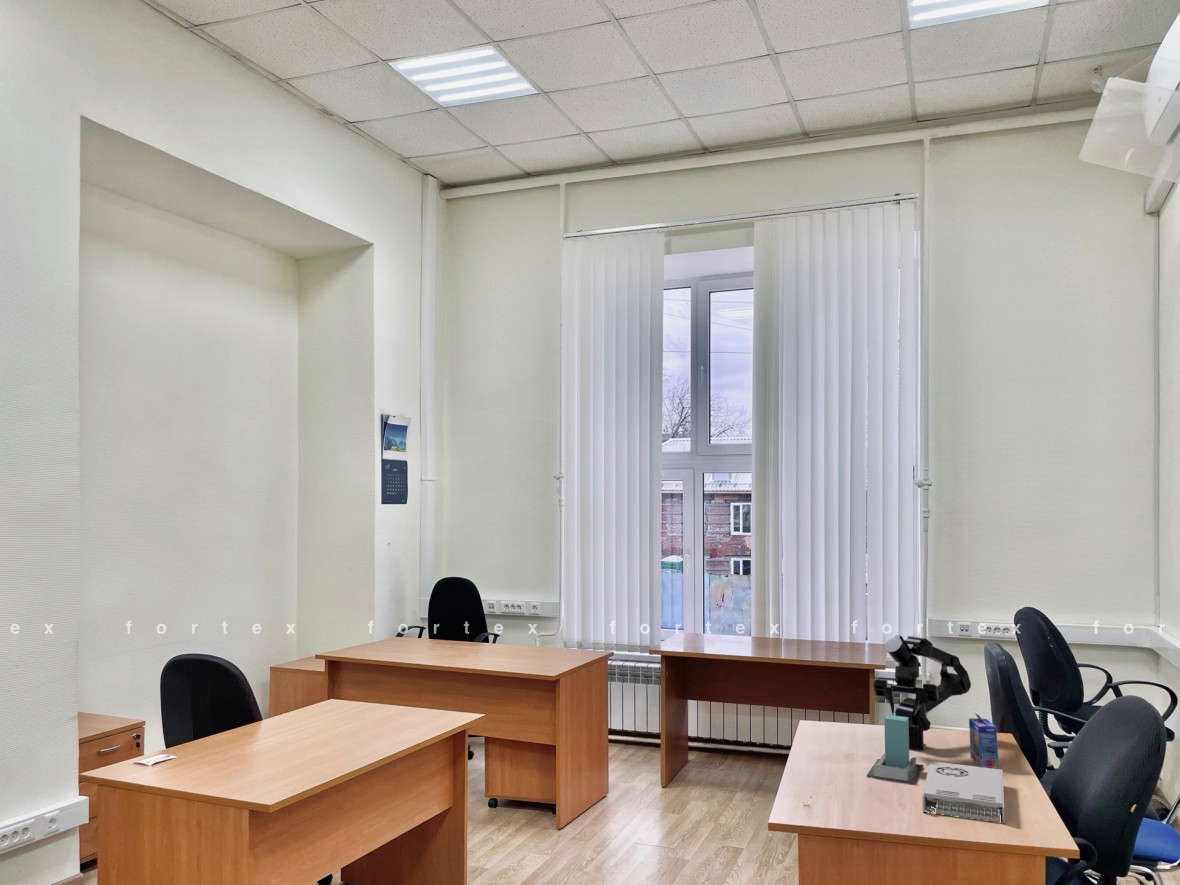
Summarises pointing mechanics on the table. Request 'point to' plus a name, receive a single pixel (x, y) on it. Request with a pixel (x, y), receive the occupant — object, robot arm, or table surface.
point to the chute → (896, 771)
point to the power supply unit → (964, 791)
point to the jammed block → (896, 741)
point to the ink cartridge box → (983, 742)
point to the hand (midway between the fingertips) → (903, 713)
